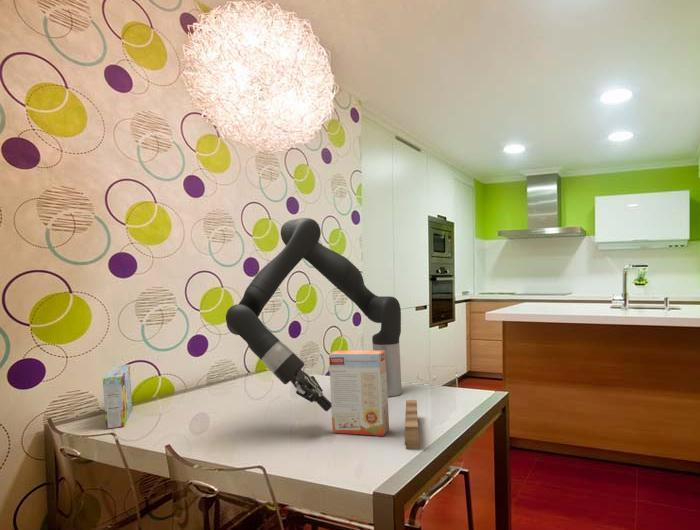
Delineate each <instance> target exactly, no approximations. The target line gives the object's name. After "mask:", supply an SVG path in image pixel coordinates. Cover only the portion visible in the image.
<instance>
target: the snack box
mask: <svg viewBox="0 0 700 530" xmlns="http://www.w3.org/2000/svg"><path fill="white" fill-rule="evenodd" d="M131 383H132V382H131V364H119V365H114V366H112V368H110V370H108V372H107V373H106V375H104V376H103V378H102V385H103V387H102V388H103V401H104V402H103V405H104V422H105V424H104V425H105V427H104V428H105V430H110V429H111V430H112V429H118V428H124V427H125V426H126V423H127V421H128V418H129V416H130V414H131V412H132V410H133V402H132V399H133V397H132V386H131V385H132V384H131Z"/></svg>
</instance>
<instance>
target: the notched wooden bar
mask: <svg viewBox="0 0 700 530" xmlns="http://www.w3.org/2000/svg"><path fill="white" fill-rule="evenodd" d="M419 437H420V436H419V417H418V400H417V399H406V401H405V417H404V446H405V450H420V439H419Z"/></svg>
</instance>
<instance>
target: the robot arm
mask: <svg viewBox="0 0 700 530" xmlns="http://www.w3.org/2000/svg"><path fill="white" fill-rule="evenodd" d="M321 234H322V233H321V226H320V225H319V223H318V222H317V221H316V220H315V219H312V218H309V217H301V218H295V219H290V220H287V221H286V222H284V223H283V224H282V226H281V227H280V238H281V240H282V242H283V244H284V245H285V246H284V248H283V249H282V250H281V251H280V252H279V253H278V255H276V256H275V257H273V258H272V260H270V261H269V262H267V264H266V265H264V266H263V267H262V268H261V269H260V270H259V271H258V273H257V274H256V275H255V277H253V279H252V280H251V282H250V283H249V285H247V287H246V289H245V291H244V293H243V296H242V297H241V300H240V301H239V303H237V304H234V305H231V306H230V307H229V308H228V309H227V311H226V315H225V322H226V323H225V324H226V327H227V329H228V331H229V332H230V333H232V335H235V336H239V337H240V338H241V339H242V340H244V342H245V343H246V344H247V346H248V347H249V349H250V350H251V352H252V353H253V354H254V355H255V356H257V358H258V359H259V360H260V361H262V362H263V364H264V365H265V367H267V369H268V370H269V371H270V372H271V373H272V374H273V375H274V376H275V377H276V378H277V379H278V380H279V381H280V382H281V383H282V384H283V385H287V384H288V383H291V384H292V385H293V386H294V388H295V389H296V391H295V393H296V395H298V396H300V397H301V398H304V399H305V400H307V401H308V402H310V403H316V404H318V405H319V407H321V408H322V409H323V410H324V411H325V412H328V411H330V410H331V409H332V408H331V400H329V399H328V398H327V397H326V396H325V395H324V392H323V388H322V387H321V385H320V384H319V382H318V381H317V379H316V378H315V376H314V375H310V374H308V373H306V372H305V371H303V370H302V368H304V367H305V362H304V361H303V360H302V359H301V358H299V356H298V355H297V354H296V353H294V352H293V350H291V348H289V347H288V346H287V345H286V344H285V343H283V342H282V341H281V340H280V339H279V338H278V337H277V336H276V335H275V334H273V333H272V332H271V331H270V330H269V329H268V328H267V327H266V326H265V324H264V323H263V322H262V321H261V319H260V318H259V316H260V315H261V313H262V312H263V309H264V308H265V307H266V305H267V304H268V302H269V301H271V299H272V297H273V295H274V294H275V293H276V292H277V290H278V289H279V287H280V286H281V285H282V283H283V282H284V280H285V279H286V278H287V277H288V276H289V274H290V273H291V272H292V271H293V269H295V267H296V266H297V265H298V264H299V263H300V262H301V261H302V260H303V259H304V260H305V261H307V262H308V263H309V264H310V265H312V267H313V268H314V269H315V270H316V271H318V273H320V274H321V275H322V276H323V277H325V279H327V281H329V282H330V283H331V284H332V285H333V286H334V287H335V288H336V289H338V290H339V291H340V292H342V294H344V296H346V297H347V298H348V299H349V300H351V301H352V303H354V304H355V305H356V306H357V307H358V308H359V309H360V311H361V312H362V313H363V314H364V316H365V317H367V319H368V320H370V321H371V322H372V323H376V324H380V330H379V331H378V332H377V333H375V334H373V336H372V337H371V340H372V341H371V342H372V350H373V351H381V350H384V351H385V358H386V376H387V395H388V397H396V396H400V395H402V394H403V392H402V391H403V389H402V372H401V371H402V370H401V368H402V367H401V350H400V349H401V348H400V337H401V334H402V310H401V304H400V301H399V300H398V299H397V298H396V297H394V296H389V295H388V296H386V295H385V296H383V295H381V296H378V295H377V294H375V293H373V291H371V290H370V289H369V288H368V287H367V286H366V285H365V280H364V277H363V275H362V273H361V271H360V269H359V268H358V267H356V265H355V264H354V263H353V262H351V261H350V260H349V259H348V258H347V257H346V256H343V255H342V254H340V253H338V252H336V251H334V250H332V249H330V248H328V247H326V246H325V245H323V244H322V243H320V242H319V241H320V239H321Z"/></svg>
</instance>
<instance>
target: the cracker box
mask: <svg viewBox="0 0 700 530" xmlns="http://www.w3.org/2000/svg"><path fill="white" fill-rule="evenodd" d="M328 355H329V362H328V363H329V380H330V383H329V384H330V402H331V408H330V409H331V425H332V427H331V428H332V433H334V434H347V435H349V434H350V435H365V436H378V437H384V436H385V435H386V433H388V431H389V430H390V417H389V413H390V412H389V400H388V399H389V396H388V395H387V376H386V358H385V351H384V350H381V351H373V349H372V350H369V349H368V350H366V349H365V350H364V349H363V350H361V349H358V350H356V349H353V350H352V349H350V350H349V349H348V350H345V349H343V350H339V349H337V350H335V351H332V352H330V353H329V354H328Z"/></svg>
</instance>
